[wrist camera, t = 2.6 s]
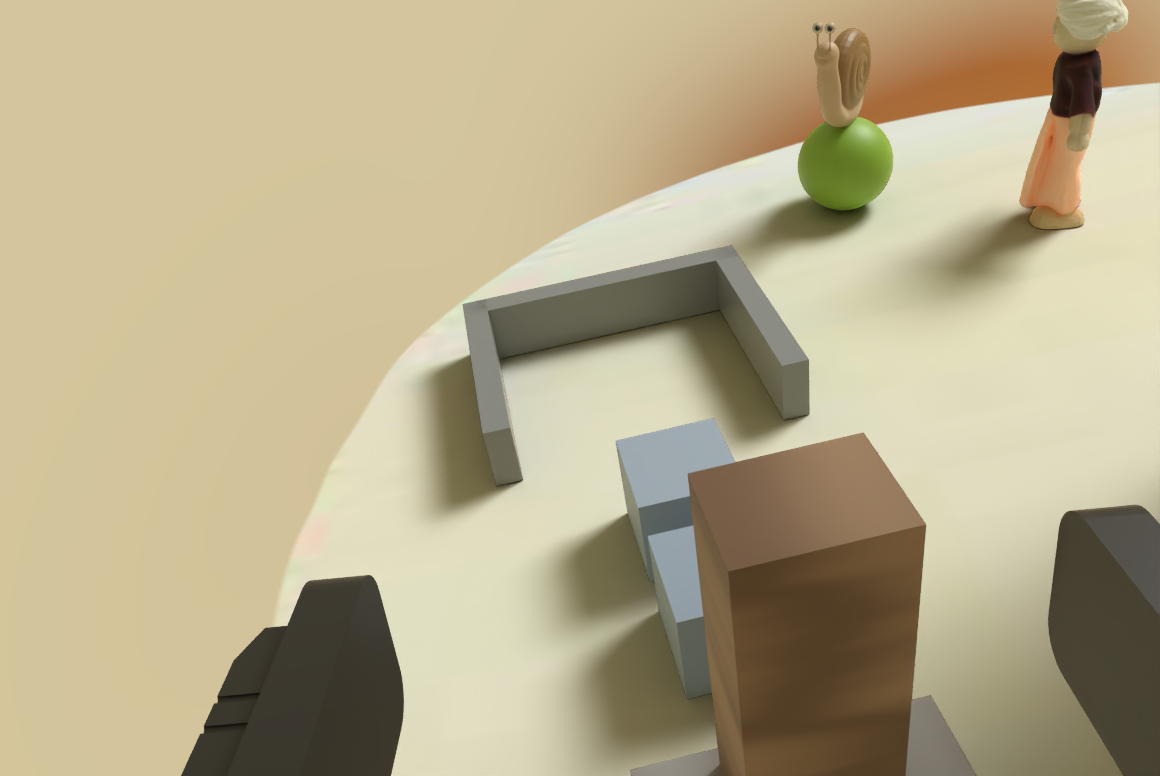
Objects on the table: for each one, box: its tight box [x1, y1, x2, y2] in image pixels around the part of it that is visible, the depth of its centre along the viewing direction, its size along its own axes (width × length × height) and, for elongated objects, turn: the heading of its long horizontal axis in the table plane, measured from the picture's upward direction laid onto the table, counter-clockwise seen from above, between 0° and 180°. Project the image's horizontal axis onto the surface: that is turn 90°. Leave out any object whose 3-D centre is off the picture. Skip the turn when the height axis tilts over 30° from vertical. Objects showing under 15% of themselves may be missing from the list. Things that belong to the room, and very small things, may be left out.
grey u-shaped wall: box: [463, 245, 809, 486], centre depth 47 cm, size 14×11×3 cm
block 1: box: [616, 418, 735, 582], centre depth 38 cm, size 4×4×4 cm
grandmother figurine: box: [1019, 0, 1128, 229], centre depth 51 cm, size 8×4×13 cm, turn 171°
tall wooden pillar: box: [630, 433, 976, 776], centre depth 24 cm, size 9×4×14 cm, turn 100°
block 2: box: [648, 525, 712, 699], centre depth 34 cm, size 4×4×4 cm
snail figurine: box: [798, 22, 893, 210], centre depth 56 cm, size 5×6×12 cm
